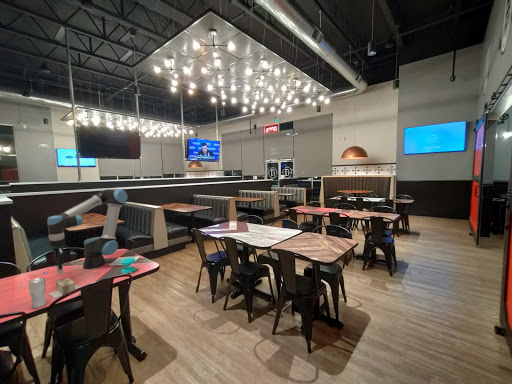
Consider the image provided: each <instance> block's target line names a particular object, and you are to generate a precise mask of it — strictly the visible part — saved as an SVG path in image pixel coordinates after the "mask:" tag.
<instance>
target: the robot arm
mask: <svg viewBox="0 0 512 384" xmlns="http://www.w3.org/2000/svg"><path fill="white" fill-rule="evenodd" d="M128 197H129V196H128V194H127V192H126V191H125V190H123V189H119V188H118V189H117V188H116V189H115V188H113V189H111V188H110V189H103V190H100V191H99V192H97V193H95V194H93V195H92V197H91V198H88V199H87V200H85V201H83V202H80V203H79V204H77V205H75V206H73V207H71V208H70V209H67V210H66V211H64V212H61V213H59V214H58V215H57V214H56V215H52V216H49V217H47V229H48V230H47V231H48V236H47V238H48V239H49V241H48V242H49V247H50V248H51V247H52V253H53V259H54V264H55V265H56V274H57V275H58V276H60V275H62V274H64V266H63V264H64V259H65V256H64V255H65V254H64V253H65V251H64V250H63V249H64V248H63V247H62V246H63V245H65V244H66V239H65V230H66V229H71V228H74V227H78V226H79V227H80V226H81V225H82V224H83V223H84V220H83V217H82V216H81V215H83V214H85V213H87V212H88V211H90V210H91V209H93V208H95V207H97V206H101V205H103V204H106V205H107V212H106V216H105V221H104V226H103V230H102V235H101V236H95V237H91V238H87V239H85V240H84V241H83V247H84V260H83V264H82V268H83V269H84V270H92V269H96V268H100V267H102V266H105V265H106V260H105V259H106V258H104V256H111V255H114V253H116V251H118V249H119V243H118V241H117V238H116V230H117V226H118V220H119V216H120V211H121V208H122V207H123V205H124V204H125V203H126V202H127V200H128Z"/></svg>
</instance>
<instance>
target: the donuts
mask: <svg viewBox="0 0 512 384" xmlns="http://www.w3.org/2000/svg"><path fill="white" fill-rule="evenodd" d="M135 262H136V259H135V258H134V257H126V258H123V259H121V260H120V265H121V266H123V268H122V269H121V271H120V273H121V274H122V273H123V274H122V275H125V274H124V273H127V274H126V275H129V274H128V273H130V272H133V271H134V272H135V271H136V270H137V268H136V267H135V266H134V265H133V264H135ZM124 266H125V267H124ZM134 272H133V273H134Z"/></svg>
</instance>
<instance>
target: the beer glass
mask: <svg viewBox="0 0 512 384" xmlns="http://www.w3.org/2000/svg"><path fill="white" fill-rule="evenodd" d="M46 289H47V284H46V278H45V277H37V278H33V279H31V280H30V281H29V282H28V293H29V296H30V298H31V302H32V303H31V309H39V308H41V307H44V306H45V305H47V301H46Z"/></svg>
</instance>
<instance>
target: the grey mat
mask: <svg viewBox="0 0 512 384" xmlns="http://www.w3.org/2000/svg"><path fill="white" fill-rule="evenodd" d="M80 287H81V286H80V285H78V284H75V289H77V288H80ZM48 295H49V296H51V297H52V298H53V299H58V298H60V297H63V295H62V294H61V293H59V292H58V291H57V290H56V291H52V292H50V293H48Z"/></svg>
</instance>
